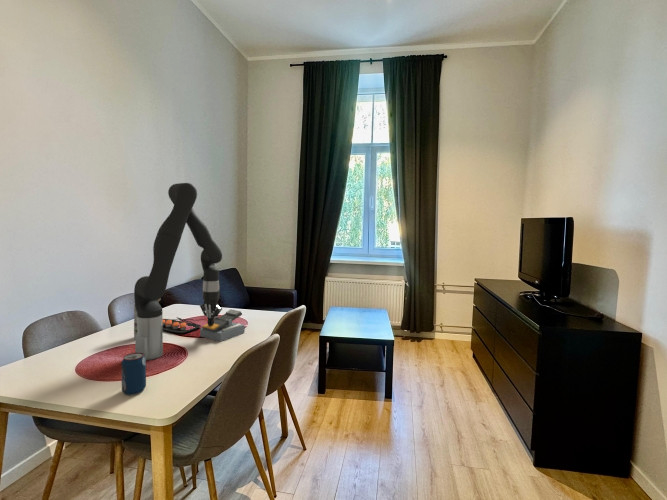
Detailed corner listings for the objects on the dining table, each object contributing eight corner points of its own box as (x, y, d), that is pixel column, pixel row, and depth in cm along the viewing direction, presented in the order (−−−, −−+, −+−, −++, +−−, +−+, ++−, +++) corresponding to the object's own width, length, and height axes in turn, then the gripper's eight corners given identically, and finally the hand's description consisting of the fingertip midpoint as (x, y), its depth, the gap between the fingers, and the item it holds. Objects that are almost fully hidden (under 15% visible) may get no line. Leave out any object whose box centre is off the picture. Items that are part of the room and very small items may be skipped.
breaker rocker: (214, 333, 162) (213, 328, 162) (202, 330, 166) (202, 325, 165) (242, 315, 178) (241, 311, 177) (231, 312, 182) (230, 309, 181)
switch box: (220, 341, 162) (220, 324, 161) (200, 336, 169) (200, 319, 168) (244, 332, 176) (244, 317, 175) (224, 328, 183) (224, 313, 182)
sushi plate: (140, 328, 180) (140, 321, 179) (185, 315, 207) (185, 308, 207) (182, 336, 169) (182, 329, 168) (223, 321, 196) (223, 315, 196)
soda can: (150, 386, 117) (150, 352, 116) (137, 396, 110) (137, 360, 109) (130, 385, 117) (130, 351, 116) (116, 395, 110) (116, 359, 109)
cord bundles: (224, 331, 164) (224, 329, 164) (205, 327, 170) (205, 324, 170) (241, 325, 174) (241, 323, 174) (222, 321, 180) (222, 319, 180)
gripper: (195, 289, 164) (194, 324, 165) (214, 292, 157) (214, 329, 159) (207, 287, 170) (207, 321, 171) (227, 290, 164) (226, 325, 165)
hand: (210, 325), depth 165 cm, fingers closed
